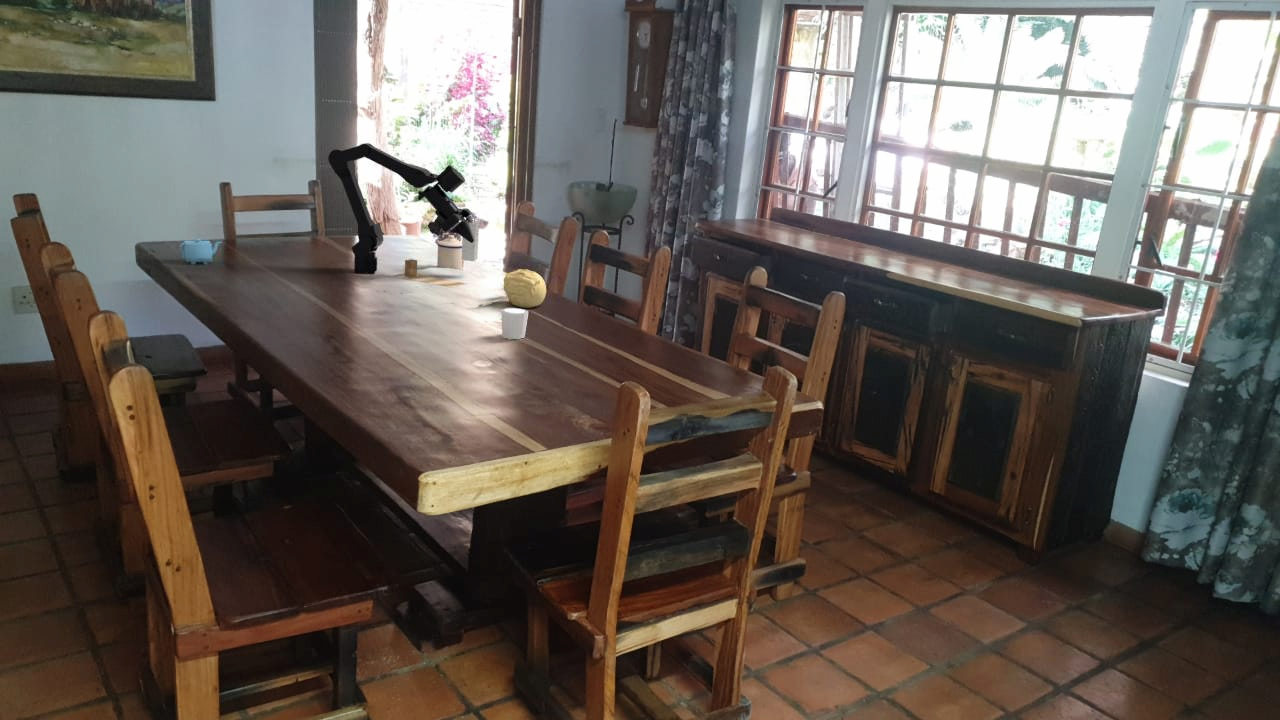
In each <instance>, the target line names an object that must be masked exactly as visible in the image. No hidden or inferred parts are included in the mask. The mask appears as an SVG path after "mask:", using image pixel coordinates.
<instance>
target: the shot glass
mask: <svg viewBox="0 0 1280 720" xmlns="http://www.w3.org/2000/svg"><path fill="white" fill-rule="evenodd" d="M500 312H501V331H502V333H501V335H502V338H503V337H504V338H503V339H505V338H508V339H507V340H510V339H521V338H524V337H525V335H526V330H527V329H526V328H527V323H528V317H529V310H527V309H525V308H524V309H523V308H522V307H518V308H517V307H505V308H502V309H501V310H500ZM524 339H525V338H524ZM521 340H522V339H521Z"/></svg>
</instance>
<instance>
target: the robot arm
mask: <svg viewBox="0 0 1280 720" xmlns="http://www.w3.org/2000/svg"><path fill="white" fill-rule="evenodd" d="M363 158H365V159H368V160H370V161H372V162H374V163H375V164H378V165H379V166H382V167H383V168H386V169H388V170H389V171H391V172H393V173H395V174H397V175H398V176H400V177H401V178H402V179H403V181H405V182H406V183H407V184H409V185H410V186H412V187H413V188H416V189H422V188H424V187H425V189H423V190H418V192H417V193H418V196H417V200H418V201H421V200H423V199H426V200H427V201H428V203H429V204H430V205H431V206H432V207H433V208H434V209H435V211H434V213H435V215H436V216H437V217H436V218H435V219H434V221H429V223H427V224H428V225H427V228H428V231H429V232H430V234H434V235H435V236H436V237H437V236H438V237H439V236H441V235H442V234H443V233H445V234H447V232H448V233H450V234H451V233H453V234H458V235H459V236H461V238H462V237H463V238H465V239H466V240H468V241H469V242H470V243H472V242H474V239H473V237H472V235H471V232H470V230H469V228H468V225H467V223H466V220H468V218H472V216H471V215H472V214H473V213H472V212H471V210H470V209H469V208H459V207H458V206H457V205H456V203H454V199H453V198H452V197H451V198H450V197H449V196H448V195H447V193H448V192H449V193H451V194H453V193H454V192H455V191H456V190H457V189H458V188H459V187H460V186H461V185H463V184H464V183H465V182H466V178H465V177H464V176H463V174H462V173H461V172H460V171H458V170H457V169H456V168H455V167H453V165H452V164H448V165H447V166H446V167H445V169H444V170H442V172H440V173H439V174H437V173H432V172H430V170H428V169H427V168H425V167H422V166H418V165H415V164H411V163H407V162H404V161H403V160H401V159H399V158H397V157H395V156H393V155H391V154H389V153H387V152H385V151H383V150H381V149H379V148H377V147H375V146H374V145H373V144H371V143H368V142H365V143H360V144H359V145H357V146H353V147H350V148H348V149H347V148H338V149H337V148H336V149H333V150H332V151H330V153H329V154H328V157H327V161H328V163H329V165H330V167H331V168H332V170H333V172H334V173H335V175H337V177H338V178H339V179H340V181H341V183H342V186H343V189H344V191H345V194H346V196H347V199H348V202H349V205H350V207H351V211H352V213H353V215H354V218H355V220H356V221H355V222H356V223H357V226H356V227H357V237H358V242H356V243H355V244H354V245H353V246H352V247H351V251H352V253H353V255H354V258H353V259H354V260H353V261H354V262H353V263H354V265H353V266H354V267H353V268H354V269H353V273H355V274H372V275H374V274H375V273H376V272H377V271H378V257H377V255H376V252H377V250H378V248H379V247H380V246H382V244H383V243H384V235H385V233H384V231H383V230H382V226H381V223H380V222H377V223H375V221H374V220H373V219H372V218H371V217H372V216H371V214H370V212H369V209H368V206H367V203H366V201H365V199H364V195H363V193H362V190H361V188H360V185H359V182H358V180H357V175H356V163H355V161H358V160H360V159H363ZM434 183H435V184H434ZM429 184H434V185H433V186H432V185H429ZM450 229H451V230H450ZM449 230H450V231H449Z"/></svg>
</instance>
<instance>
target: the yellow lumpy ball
mask: <svg viewBox="0 0 1280 720" xmlns="http://www.w3.org/2000/svg"><path fill="white" fill-rule="evenodd" d="M503 291H504V292H505V295H506V298H507V300H508V301H509V302H510V304H511V305H513V306H515V307H518V308H522V309H523V308H524V309H525V308H526V309H529V308H530V309H531V308H535V307H538V306H539V305H541V304H542V303H543V302H544V300H545V299H546V295H547V286H546V283H545V280H544V278H543V277H542V276H541V275H540V274H539V273H538V272H536V271H532V270H529V269H522V268H519V269H516V270H514V271H512V272H507V273H506V274H505V276H504V278H503Z"/></svg>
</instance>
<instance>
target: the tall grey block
mask: <svg viewBox="0 0 1280 720" xmlns="http://www.w3.org/2000/svg"><path fill="white" fill-rule="evenodd" d="M467 218H468V217H467ZM466 223H467V225H468V228H469V230H470V232H471V235H472V237H473V239H474V242H472V243H470V242H469V241H468V240H466V239H465V238H463V237H462V236H461V239H462V241H461V242H462V260H464V261H468V262H475V261H477V260H478V255H479V254H478V253H479V252H478V251H479V234H480V233H479V231H480V229H479V228H480V221H479V220H478V221H477V220H475V218H473V217H471V218H468V220H466Z"/></svg>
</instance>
